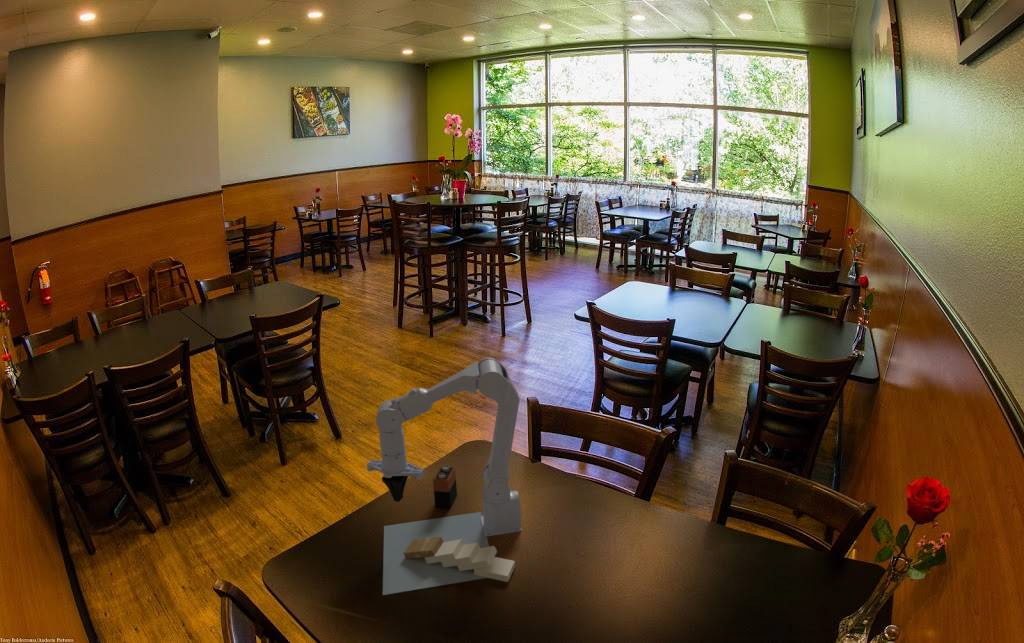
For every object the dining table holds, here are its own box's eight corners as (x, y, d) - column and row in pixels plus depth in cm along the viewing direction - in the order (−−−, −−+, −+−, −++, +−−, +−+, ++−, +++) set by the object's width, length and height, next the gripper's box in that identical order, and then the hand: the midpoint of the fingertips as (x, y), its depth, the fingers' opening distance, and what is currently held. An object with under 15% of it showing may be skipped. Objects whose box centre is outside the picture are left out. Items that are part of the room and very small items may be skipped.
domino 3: (456, 565, 133) (486, 560, 130) (465, 550, 138) (494, 545, 134) (459, 571, 133) (489, 566, 130) (468, 556, 138) (497, 551, 134)
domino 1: (424, 558, 136) (452, 553, 132) (433, 544, 140) (461, 539, 137) (427, 563, 136) (455, 559, 133) (436, 549, 140) (464, 544, 137)
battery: (457, 495, 162) (455, 464, 159) (450, 510, 156) (447, 478, 153) (442, 494, 163) (440, 462, 160) (434, 509, 157) (431, 476, 153)
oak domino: (403, 553, 138) (431, 550, 134) (413, 539, 142) (441, 536, 139) (405, 558, 138) (434, 556, 135) (415, 545, 142) (443, 542, 139)
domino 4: (474, 568, 132) (507, 576, 129) (482, 554, 136) (514, 561, 134) (474, 574, 132) (507, 582, 130) (482, 559, 137) (515, 566, 134)
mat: (481, 513, 154) (480, 511, 154) (496, 577, 132) (496, 576, 132) (384, 527, 150) (384, 526, 150) (382, 596, 127) (382, 595, 127)
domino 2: (440, 561, 134) (469, 556, 131) (449, 547, 139) (477, 542, 136) (443, 567, 135) (472, 562, 131) (452, 553, 139) (480, 548, 136)
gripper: (357, 454, 138) (363, 503, 142) (412, 463, 134) (417, 514, 138) (373, 439, 144) (379, 487, 149) (426, 448, 140) (430, 496, 144)
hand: (398, 499), depth 144 cm, fingers closed
